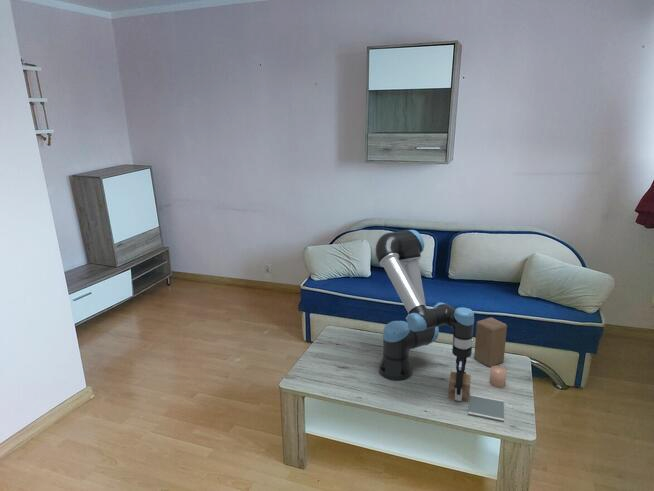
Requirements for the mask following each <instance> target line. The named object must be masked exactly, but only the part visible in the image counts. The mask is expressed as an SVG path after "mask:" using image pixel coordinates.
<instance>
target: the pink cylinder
mask: <svg viewBox="0 0 654 491" xmlns="http://www.w3.org/2000/svg"><path fill="white" fill-rule="evenodd" d="M506 380H507V369H506V368H505V367H504V366H501V365H494V366H491V367H490V374H489V385H490V386H492V387H494V388H499V389H502V388H505V386H506Z"/></svg>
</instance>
